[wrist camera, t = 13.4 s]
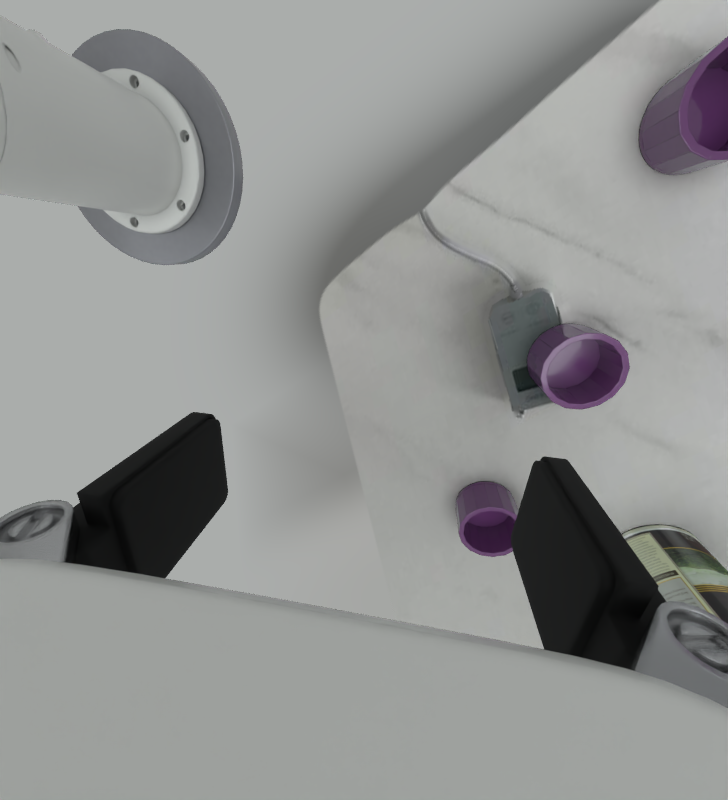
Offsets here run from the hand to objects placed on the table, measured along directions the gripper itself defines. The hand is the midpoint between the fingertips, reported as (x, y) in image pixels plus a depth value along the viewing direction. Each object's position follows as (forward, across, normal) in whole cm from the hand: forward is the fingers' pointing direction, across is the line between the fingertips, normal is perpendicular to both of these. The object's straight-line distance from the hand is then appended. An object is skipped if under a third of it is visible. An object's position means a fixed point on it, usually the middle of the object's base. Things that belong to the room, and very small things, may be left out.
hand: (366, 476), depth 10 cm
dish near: (+26, -19, -16) cm, 36 cm away
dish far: (+26, -12, +20) cm, 35 cm away
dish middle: (+26, -16, +2) cm, 30 cm away
